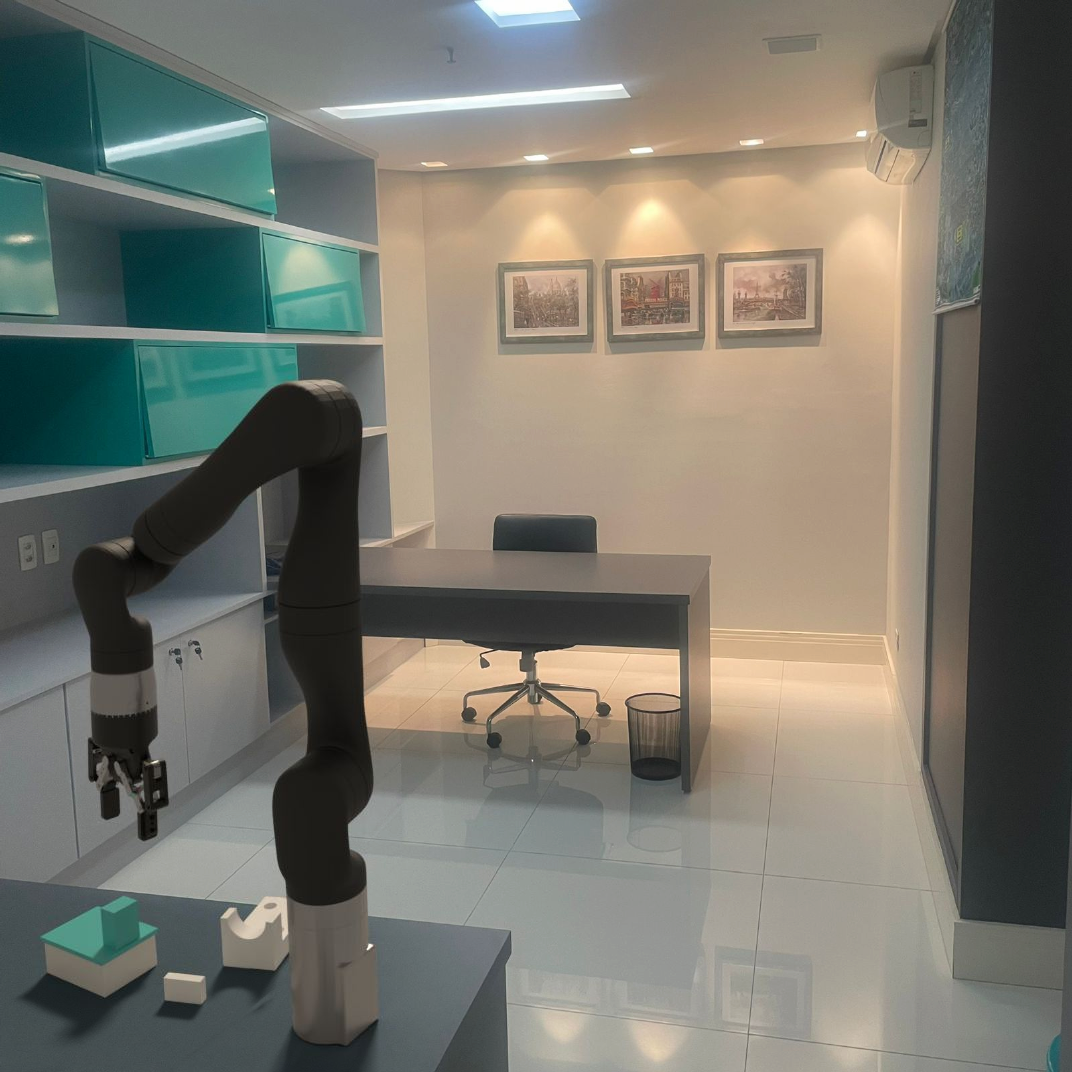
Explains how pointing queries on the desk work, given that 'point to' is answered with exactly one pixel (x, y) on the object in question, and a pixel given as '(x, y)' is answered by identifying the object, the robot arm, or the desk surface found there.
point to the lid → (102, 932)
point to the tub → (102, 967)
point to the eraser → (185, 988)
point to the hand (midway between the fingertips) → (128, 827)
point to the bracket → (256, 936)
